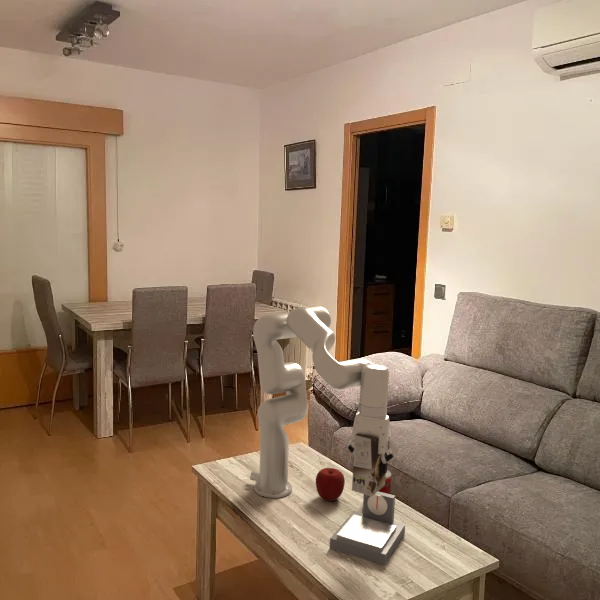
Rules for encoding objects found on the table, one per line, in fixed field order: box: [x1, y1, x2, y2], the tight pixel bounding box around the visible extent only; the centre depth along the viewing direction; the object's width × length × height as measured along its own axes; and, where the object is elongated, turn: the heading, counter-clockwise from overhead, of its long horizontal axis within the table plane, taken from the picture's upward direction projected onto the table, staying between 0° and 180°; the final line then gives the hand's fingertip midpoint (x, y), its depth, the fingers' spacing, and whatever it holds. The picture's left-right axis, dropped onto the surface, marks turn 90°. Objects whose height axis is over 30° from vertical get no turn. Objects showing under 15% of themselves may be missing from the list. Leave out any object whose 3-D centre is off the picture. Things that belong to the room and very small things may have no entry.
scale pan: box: [337, 515, 396, 551], centre depth 162 cm, size 13×13×1 cm
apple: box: [315, 467, 346, 502], centre depth 188 cm, size 10×10×10 cm
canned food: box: [379, 469, 392, 494], centre depth 185 cm, size 8×8×11 cm
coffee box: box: [351, 434, 386, 496], centre depth 159 cm, size 9×6×16 cm
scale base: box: [329, 491, 406, 566], centre depth 163 cm, size 16×18×11 cm
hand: (369, 471), depth 160 cm, fingers closed on coffee box, 6 cm apart
